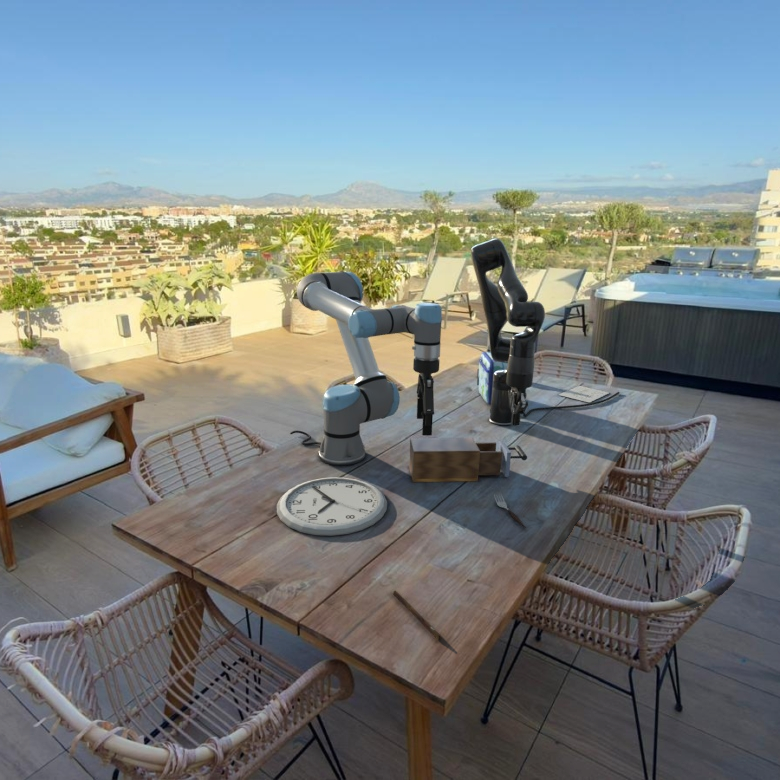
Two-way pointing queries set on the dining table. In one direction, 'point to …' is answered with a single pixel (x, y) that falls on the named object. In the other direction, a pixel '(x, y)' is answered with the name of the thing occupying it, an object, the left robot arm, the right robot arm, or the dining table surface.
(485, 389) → the lunch box
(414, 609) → the dark brown thin rod
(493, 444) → the drawer
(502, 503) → the fork
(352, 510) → the wall clock
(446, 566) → the dining table surface
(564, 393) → the invitation card
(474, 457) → the cabinet
